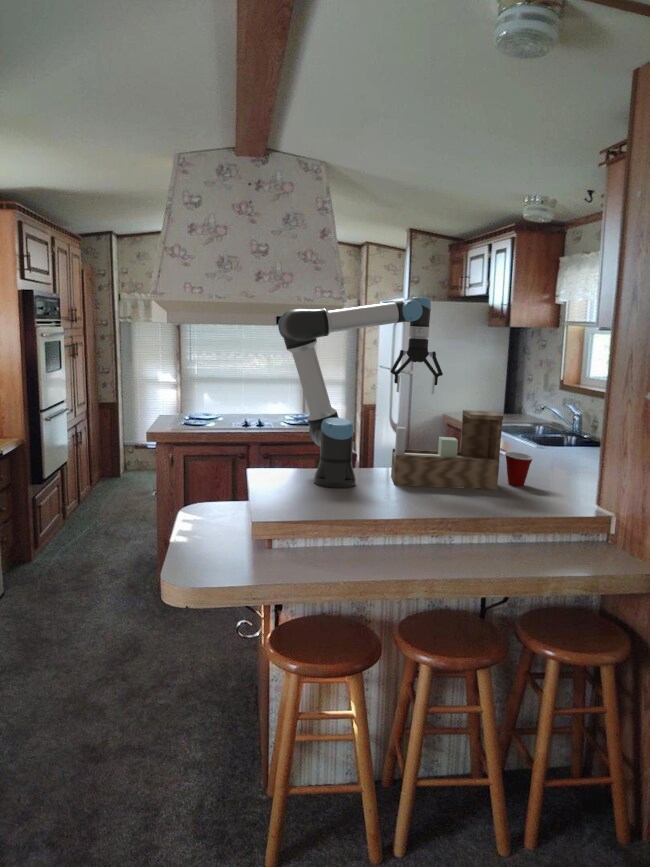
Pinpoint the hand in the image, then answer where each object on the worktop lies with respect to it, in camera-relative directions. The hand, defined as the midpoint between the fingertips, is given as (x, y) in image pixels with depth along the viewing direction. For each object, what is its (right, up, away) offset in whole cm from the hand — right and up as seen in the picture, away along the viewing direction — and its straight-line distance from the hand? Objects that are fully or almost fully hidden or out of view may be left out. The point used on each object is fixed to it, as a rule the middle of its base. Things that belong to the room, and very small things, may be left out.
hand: (415, 392), depth 259 cm
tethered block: (+3, -24, -9) cm, 26 cm away
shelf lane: (+9, -35, -8) cm, 37 cm away
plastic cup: (+38, -36, -5) cm, 53 cm away
